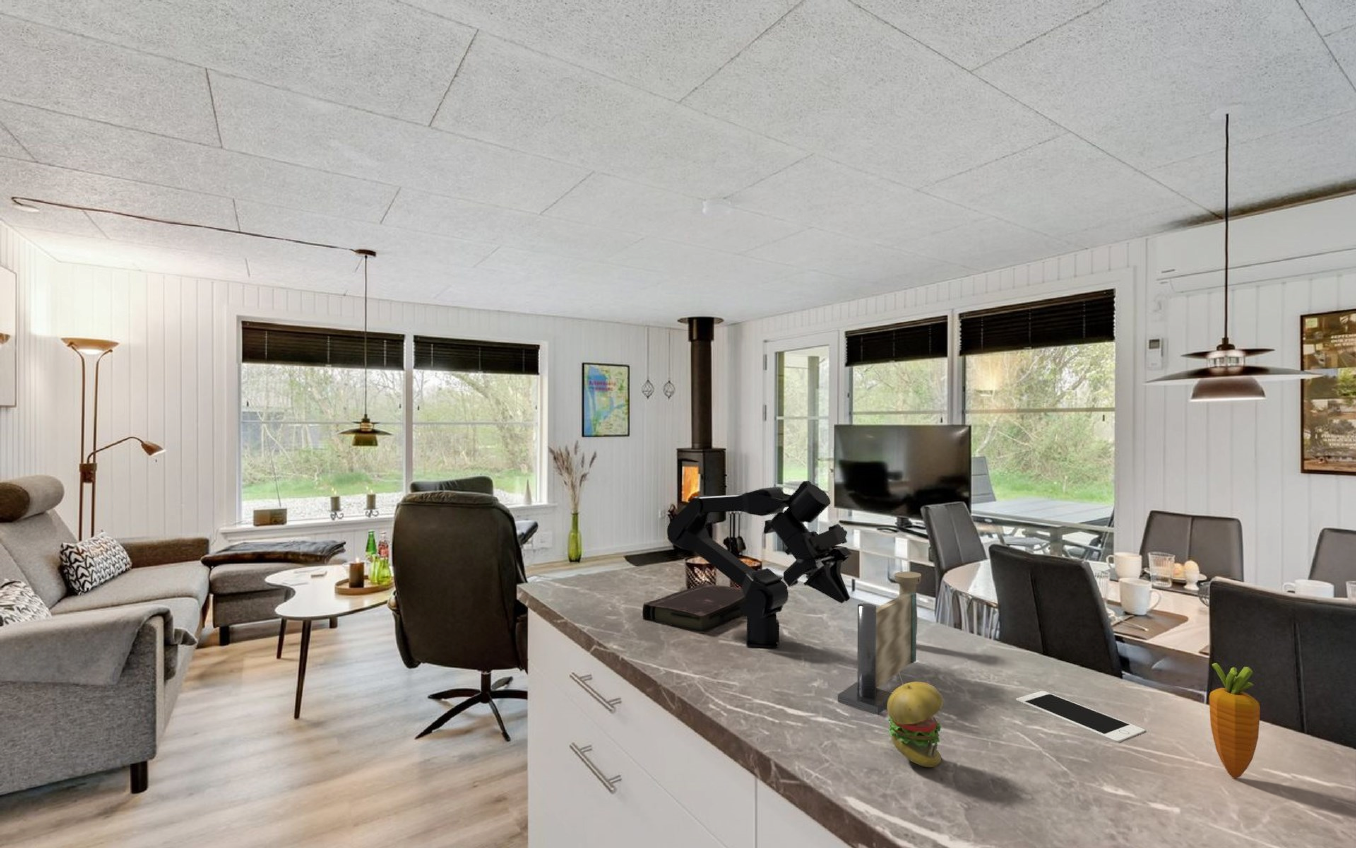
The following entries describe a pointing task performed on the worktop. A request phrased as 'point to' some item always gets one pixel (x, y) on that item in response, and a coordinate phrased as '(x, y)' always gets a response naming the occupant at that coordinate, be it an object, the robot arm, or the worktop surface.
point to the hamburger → (915, 722)
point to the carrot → (1234, 720)
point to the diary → (697, 608)
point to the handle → (908, 583)
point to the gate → (895, 636)
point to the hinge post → (866, 667)
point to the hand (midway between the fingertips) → (845, 601)
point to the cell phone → (1081, 716)
